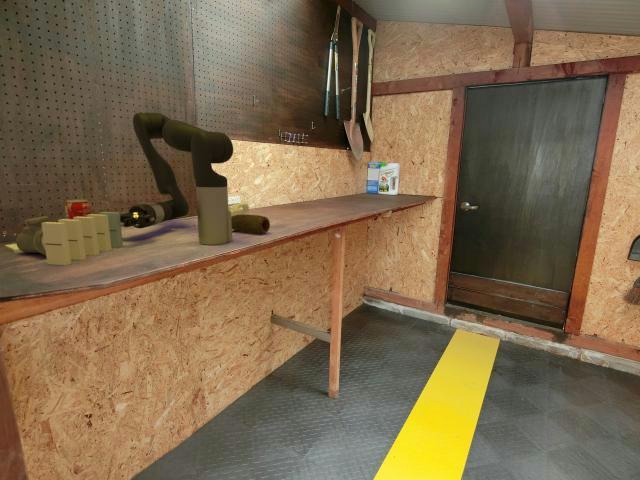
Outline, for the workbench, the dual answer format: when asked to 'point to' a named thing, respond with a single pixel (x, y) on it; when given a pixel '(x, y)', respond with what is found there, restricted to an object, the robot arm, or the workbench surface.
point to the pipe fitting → (32, 236)
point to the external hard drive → (13, 248)
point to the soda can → (77, 208)
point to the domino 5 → (114, 229)
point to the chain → (237, 211)
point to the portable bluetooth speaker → (250, 224)
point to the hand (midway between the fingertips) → (111, 223)
